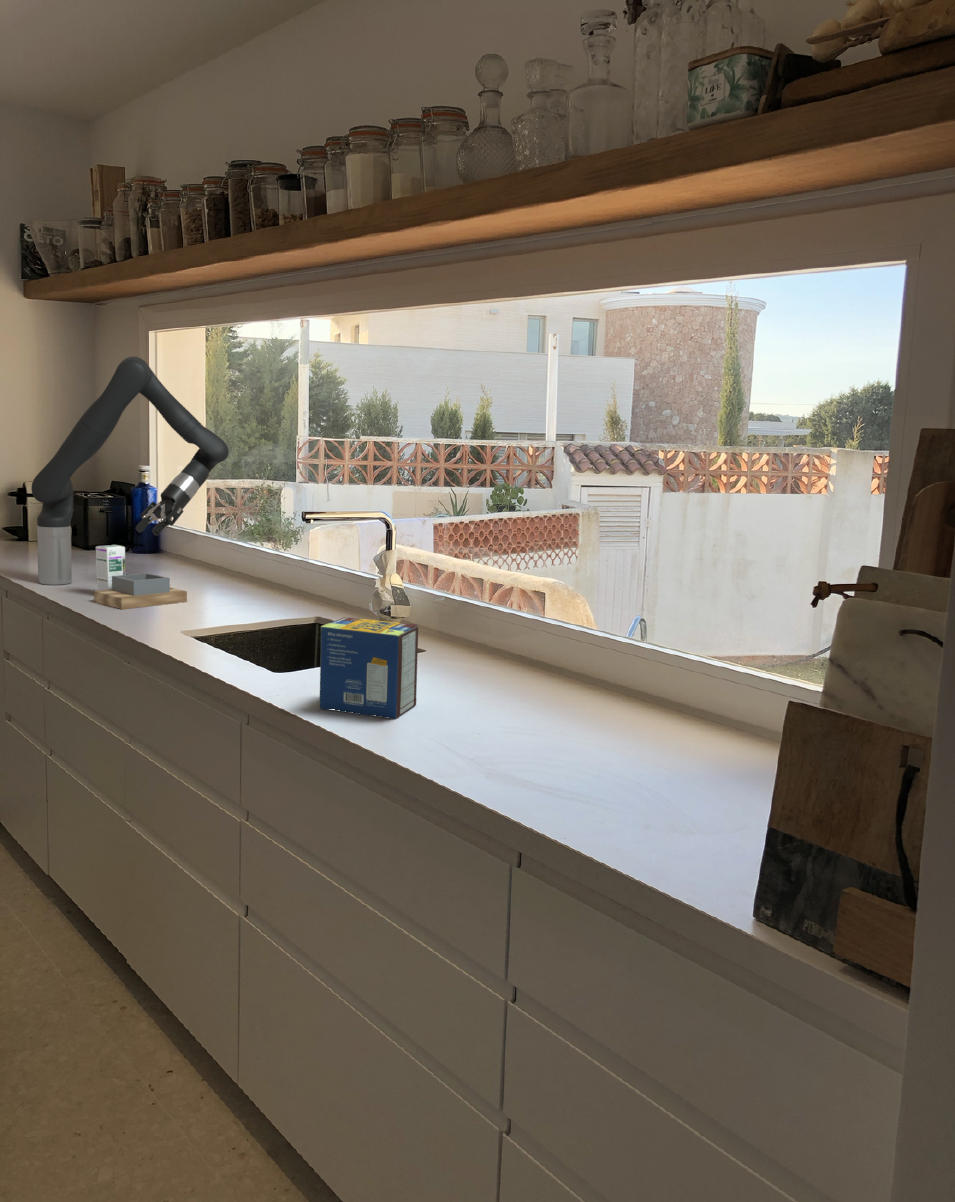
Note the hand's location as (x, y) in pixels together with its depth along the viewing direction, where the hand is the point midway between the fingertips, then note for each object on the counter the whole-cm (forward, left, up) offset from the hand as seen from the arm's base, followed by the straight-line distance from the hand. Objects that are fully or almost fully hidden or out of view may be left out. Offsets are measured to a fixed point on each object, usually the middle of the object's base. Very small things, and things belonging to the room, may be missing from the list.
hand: (146, 532), depth 289 cm
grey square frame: (+12, -9, -15) cm, 21 cm away
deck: (+12, -9, -18) cm, 23 cm away
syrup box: (0, -11, -18) cm, 21 cm away
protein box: (+129, -34, -18) cm, 135 cm away
